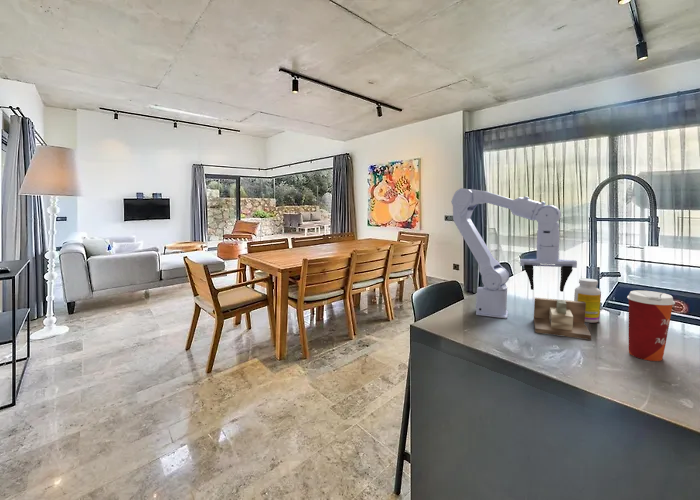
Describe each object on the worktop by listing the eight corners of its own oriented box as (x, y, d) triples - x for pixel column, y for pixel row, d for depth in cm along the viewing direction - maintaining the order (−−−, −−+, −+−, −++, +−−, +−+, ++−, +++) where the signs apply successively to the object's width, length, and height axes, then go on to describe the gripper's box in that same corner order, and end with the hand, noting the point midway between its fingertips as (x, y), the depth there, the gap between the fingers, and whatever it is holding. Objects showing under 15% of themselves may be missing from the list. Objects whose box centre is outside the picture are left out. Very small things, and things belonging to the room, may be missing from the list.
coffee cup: (674, 366, 71) (681, 300, 70) (626, 358, 76) (631, 296, 74) (663, 352, 78) (669, 291, 77) (619, 345, 83) (624, 288, 81)
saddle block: (551, 327, 93) (552, 304, 92) (549, 319, 99) (550, 297, 98) (572, 330, 90) (573, 306, 89) (568, 321, 97) (570, 299, 96)
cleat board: (535, 332, 93) (536, 307, 92) (533, 319, 103) (534, 297, 102) (591, 339, 87) (592, 313, 86) (583, 325, 97) (584, 301, 96)
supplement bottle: (603, 324, 98) (606, 282, 96) (579, 323, 99) (581, 281, 98) (592, 316, 104) (594, 277, 103) (569, 316, 106) (571, 277, 104)
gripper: (520, 246, 97) (519, 291, 99) (579, 247, 90) (577, 294, 92) (520, 244, 103) (519, 286, 105) (575, 244, 97) (573, 289, 98)
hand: (546, 289), depth 99 cm, fingers open, 7 cm apart
